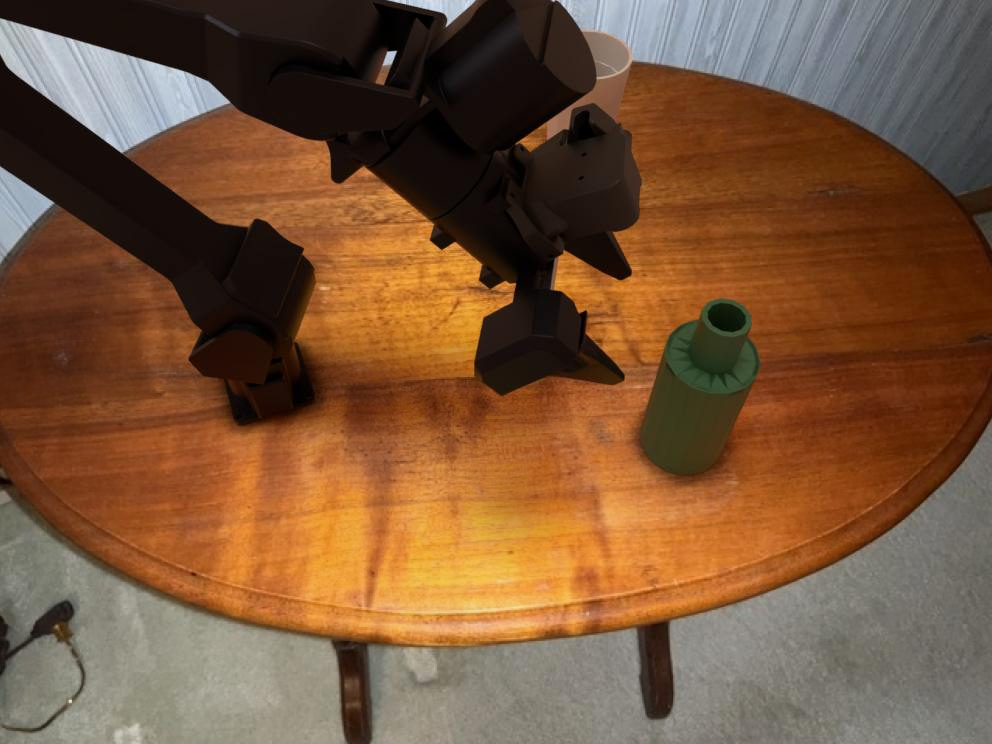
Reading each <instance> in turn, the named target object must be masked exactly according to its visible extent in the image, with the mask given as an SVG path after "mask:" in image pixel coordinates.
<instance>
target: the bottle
mask: <svg viewBox="0 0 992 744" xmlns="http://www.w3.org/2000/svg"><path fill="white" fill-rule="evenodd" d="M752 317H753V316H752V314H751V312H750V311H749V310H748V308H747V307H746V306H745V305H744V304H742V303H739V302H738V301H736V300H734V299H730V298H721V297H720V298H719V297H718V298H716V299H712V300H709V301H707V303H705V305H704V306H703V307H702V308H701V311H700V313H699V316H698V318H697V319H692V320H690V321H687V322H684V323H680V325H679V326H677V327H676V328H675V329H674V330H673V331H671V332H670V333H669V334H668V338H667V340H666V343H665V345H664V347H663V351H662V354H661V358H660V361H659V364H658V368H657V372H656V375H655V377H654V381H653V385H652V389H651V391H650V395H649V397H648V402H647V405H646V408H645V411H644V415H643V418H642V421H641V424H640V431H639V441H640V445H641V448H642V450H643V452H644V454H645V455H646V457H647V458H649V460H650V461H651V462H652V463H653V464H654V465H656V466H657V467H658V468H660V469H661V470H664V471H666V472H667V473H671V474H675V475H679V476H693V475H697V474H701V473H704V472H706V471H707V470H709V469H710V468H712V467H713V466H714V465H715V464H716V462H717V461H718V460H719V458H720V457H721V455H722V453H723V450H724V448H725V446H726V444H727V442H728V439H729V438H730V437H731V436H730V435H731V434H732V431H733V429H734V427H735V424H736V423H737V420H738V419H739V417H740V414H741V412H742V410H743V407H744V405H745V404H746V401H747V400H748V398H749V397H748V396H749V395H750V393H751V391H752V388H753V387H754V384H755V382H756V380H757V378H758V374H759V371H760V367H761V359H760V355H759V350H758V348H757V346H756V345H755V343H754V342H753V341H752V339H750V337H749V333H750V331H751V329H752V327H753V319H752Z"/></svg>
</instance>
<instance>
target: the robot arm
mask: <svg viewBox="0 0 992 744" xmlns="http://www.w3.org/2000/svg"><path fill="white" fill-rule="evenodd" d="M0 20H4V21H7V22H10V23H14V24H18V25H21V26H25V27H28V28H31V29H36V30H39V31H41V32H46V33H49V34H52V35H56V36H59V37H63V38H67V39H70V40H74V41H77V42H80V43H84V44H87V45H91V46H94V47H98V48H101V49H105V50H109V51H111V52H114V53H119V54H121V55H126V56H129V57H133V58H136V59H140V60H142V61H146V62H150V63H153V64H157V65H160V66H163V67H168V68H171V69H174V70H178V71H181V72H185V73H187V74H189V75H192V76H194V77H197V78H199V79H201V80H203V81H206V82H208V83H209V84H210V85H211V86H212V87H214V89H215V90H217V92H219V93H220V94H221V95H222V96H223V98H225V99H226V100H227V101H228V102H229V103H230V104H231V105H232V106H233V107H235V109H237V110H238V111H239V112H240V113H242V114H244V115H247V116H249V117H252V118H253V119H256V120H259V121H261V122H263V123H265V124H268V125H270V126H272V127H275V128H277V129H280V130H282V131H284V132H287V133H289V134H290V135H294V136H296V137H299V138H301V139H305V140H309V141H314V142H315V141H316V142H325V144H326V146H327V148H328V151H329V158H330V162H329V163H330V179H331V181H332V182H333V183H334V184H338V185H340V184H343V183H344V182H346V181H347V180H348V179H349V178H351V177H352V176H353V175H355V173H357V172H358V171H360V170H361V169H362V168H365V169H366V170H367V171H369V172H370V173H372V174H373V175H374V176H375V177H376V178H378V179H379V180H380V181H381V182H382V183H384V184H385V185H386V186H387V187H388V188H389V189H391V190H392V191H393V192H394V193H395V194H397V195H398V196H399V197H400V198H402V199H403V200H404V201H405V203H406V202H407V203H408V204H409V205H410V206H411V207H413V209H415V210H416V211H417V212H418V213H420V214H421V215H422V216H423V217H424V218H426V219H427V220H428V221H429V222H430V223H431V224H433V226H432V229H431V233H430V237H429V242H431V243H432V244H433V245H434V246H436V247H437V248H438V249H439V250H440V251H444V250H445V249H446V248H448V247H450V246H451V245H453V244H457V245H458V246H459V247H460V248H462V249H463V250H464V251H465V252H466V253H468V254H469V255H470V256H471V257H472V258H473V259H475V260H476V261H477V262H478V263H479V264H481V266H480V267H481V268H480V272H479V276H478V281H479V282H480V283H481V284H483V285H484V286H485V287H486V288H487V289H488V290H491V289H494V288H495V287H497V286H499V285H501V284H503V283H504V282H506V283H507V284H509V285H513V284H515V285H514V286H515V287H514V292H513V298H512V302H510V303H508V304H507V305H504V306H503V307H501V308H499V309H497V310H495V311H493V312H492V313H490V314H488V315H485V316H484V317H482V322H481V328H480V331H479V332H480V333H479V337H478V342H477V346H476V351H475V356H474V361H473V377H475V378H476V379H477V380H478V381H480V382H481V383H482V384H483V385H485V386H486V387H488V389H491V390H492V391H494V392H495V393H496V394H497V395H499V396H500V397H503V396H507V395H508V394H510V393H513V392H515V391H517V390H519V389H522V388H524V387H526V386H529V385H531V384H533V383H536V382H538V381H540V380H542V379H544V378H547V377H556V378H563V379H569V380H570V379H571V380H575V381H582V382H589V383H594V384H595V383H596V384H601V385H607V386H615V385H618V384H620V383H623V382H624V381H625V380H626V375H625V373H624V372H623V370H622V369H621V368H620V367H619V366H618V364H617V363H616V362H615V361H614V360H613V359H612V358H611V357H610V356H609V355H608V354H607V353H606V352H605V351H604V350H603V349H602V348H601V347H600V346H599V345H598V344H597V343H596V342H595V341H594V340H593V339H592V338H591V337H590V335H588V334H587V325H588V324H587V323H588V314H589V312H588V310H586V309H585V310H583V311H581V312H579V310H578V309H577V306H576V303H575V301H574V300H573V299H572V298H570V297H569V296H568V295H567V294H566V293H564V292H563V291H562V290H557V289H555V284H556V279H557V278H556V277H557V271H558V265H559V257H561V256H562V255H564V252H567V253H568V254H570V255H572V256H574V257H575V258H576V259H578V260H580V261H581V262H584V263H585V264H587V265H588V266H590V267H592V268H593V269H596V270H597V271H599V272H601V273H603V274H604V275H607V276H609V277H611V278H613V279H614V280H615V279H616V280H618V281H624V280H626V279H628V278H630V277H632V275H633V269H632V267H631V265H630V264H629V261H628V260H627V258H626V255H625V253H624V252H623V249H622V247H621V246H620V243H619V241H618V240H617V238H616V236H615V234H614V233H618V232H622V231H626V230H628V229H630V228H632V227H633V226H634V225H636V223H637V222H638V221H639V218H640V214H641V209H640V197H641V187H642V183H643V180H642V176H641V174H640V171H639V168H638V165H637V163H636V160H635V156H634V155H633V152H632V147H633V146H632V145H633V134H632V132H631V131H630V130H627V129H624V127H623V125H622V123H621V122H618V123H617V121H616V122H615V120H614V119H613V118H612V117H610V116H609V115H608V114H607V113H606V112H605V111H603V110H602V109H601V108H600V107H599V106H597V105H596V104H595V103H590V104H587V105H583V106H580V107H576V108H573V109H572V111H571V117H570V124H569V130H568V129H563V130H562V131H560V132H559V133H557V134H556V135H554V136H553V137H551V138H550V139H548V140H547V139H546V140H545V141H544V142H542V143H541V144H539V145H538V146H536V147H535V148H534V149H532V150H531V151H530V150H529V149H528V148H527V147H526V146H525V145H524V144H522V143H521V142H520V141H522V140H523V139H525V138H526V137H528V136H529V135H530V134H532V133H533V132H535V131H536V130H537V129H539V128H541V127H542V126H543V125H545V124H547V122H548V121H549V120H551V119H552V118H553V117H555V116H556V115H558V114H559V113H561V112H562V111H563V110H565V109H566V108H568V107H569V106H571V105H572V104H574V103H575V102H576V101H578V100H579V99H581V98H582V97H584V96H585V95H586V94H588V93H589V92H591V91H592V90H593V89H594V87H595V85H596V81H597V75H596V66H595V62H594V59H593V55H592V53H591V50H590V48H589V45H588V43H587V41H586V39H585V37H584V35H583V33H582V31H581V30H582V29H581V28H580V27H579V25H578V23H577V22H576V20H575V19H574V18H573V16H572V14H570V12H569V11H568V10H567V9H566V7H565V6H564V5H563V4H562V3H561V2H560V1H559V0H554V1H553V0H474V1H473V2H472V3H471V4H470V5H469V6H468V7H467V8H466V9H465V10H463V12H461V13H460V14H459V15H457V17H455V18H454V19H453V20H452V21H451V22H450V23H449V24H448V17H447V15H446V14H445V13H443V12H441V11H436V10H434V9H433V10H432V9H429V8H424V7H419V6H415V5H410V4H407V3H403V2H398V1H394V0H0ZM389 52H390V53H391V52H395V55H394V57H393V60H392V63H391V65H390V67H389V69H388V73H387V75H386V77H385V81H384V83H383V84H380V83H378V82H377V81H378V78H379V76H380V73H381V71H382V68H383V65H384V63H385V60H386V57H387V55H388V53H389ZM0 168H2V169H3V170H5V171H6V172H8V173H9V174H10V175H12V176H13V177H15V178H17V179H18V180H19V181H21V182H23V183H24V184H26V185H27V186H29V188H31V189H33V190H34V191H36V192H38V193H39V194H40V195H42V196H43V197H45V198H46V199H48V200H50V202H52V203H54V204H55V205H56V206H58V207H60V208H61V209H62V210H64V211H66V212H67V213H68V214H70V215H71V216H73V217H75V218H76V219H77V220H79V221H81V222H82V223H83V224H85V225H87V226H88V227H89V228H91V229H93V230H94V231H96V232H97V233H98V234H100V235H102V236H103V237H105V239H107V240H109V241H110V242H112V243H113V244H115V245H116V246H118V247H119V248H121V249H122V250H124V251H125V252H127V253H129V254H130V256H131V255H132V256H133V257H134V258H135V259H137V260H139V261H140V262H142V263H143V264H145V265H146V266H148V267H149V268H151V269H153V270H154V271H155V272H157V273H158V274H160V275H161V276H162V277H164V278H166V280H168V281H169V282H170V283H171V284H172V286H173V288H174V290H175V292H176V293H177V296H178V298H179V299H180V301H181V304H182V305H183V307H184V309H185V311H186V312H187V315H188V317H189V318H190V321H191V322H192V323H193V325H195V327H197V328H198V329H200V330H201V331H200V332H199V335H198V337H197V339H196V341H195V343H194V346H193V348H192V350H191V352H190V354H189V356H188V359H187V360H188V363H190V364H191V365H192V366H193V368H195V369H196V370H197V371H198V373H200V375H201V376H203V377H205V378H211V379H212V378H213V379H218V380H219V379H220V380H223V382H224V386H225V391H226V394H227V398H228V402H229V405H230V409H231V415H232V417H233V420H234V423H235V424H236V425H238V426H242V425H246V424H250V423H253V422H255V421H259V420H263V419H267V418H271V417H275V416H277V415H281V414H284V413H286V412H290V411H292V410H295V409H298V408H302V407H305V406H308V405H311V404H313V403H315V401H316V398H317V397H316V394H315V391H314V388H313V385H312V382H311V379H310V375H309V373H308V369H307V367H306V364H305V361H304V358H303V354H302V352H301V348H300V346H299V343H298V342H297V341H296V338H297V336H298V333H299V330H300V328H301V325H302V323H303V320H304V317H305V315H306V312H307V309H308V306H309V303H310V301H311V298H312V297H313V293H314V291H315V287H316V285H317V280H316V274H315V271H316V269H315V267H314V265H313V264H312V262H311V261H310V260H309V259H308V258H307V257H306V256H305V255H304V252H305V248H304V247H303V246H301V245H299V244H297V243H294V242H292V241H290V240H289V239H287V238H285V237H284V236H283V235H282V234H281V233H280V232H278V231H277V230H276V229H275V227H274V226H272V224H270V223H269V222H268V221H266V220H264V219H261V218H254V219H253V220H252V221H251V222H250V224H249V225H248V226H246V225H244V226H243V225H238V224H231V223H223V222H217V221H216V220H214V219H212V218H211V217H210V216H208V215H207V214H205V212H203V211H201V210H200V209H198V208H197V207H196V206H194V205H193V204H191V203H190V202H189V201H187V199H185V198H183V197H182V196H181V195H180V194H178V193H177V192H175V191H174V190H173V189H171V188H170V187H169V186H167V184H165V183H163V182H162V181H161V180H159V179H157V178H156V177H155V176H154V175H152V173H150V172H149V171H147V170H146V169H144V168H143V167H142V166H141V165H139V164H137V163H136V162H135V161H133V160H132V159H130V158H129V157H128V156H127V155H125V154H124V153H123V152H121V151H120V150H118V149H117V148H116V147H114V146H113V145H112V144H110V142H108V141H106V140H105V139H104V138H102V137H101V136H99V135H98V134H97V133H96V132H94V131H93V130H91V128H89V127H87V126H86V125H85V124H83V123H82V122H81V121H80V120H78V119H76V118H75V116H73V115H72V114H70V113H69V112H67V111H66V110H65V109H63V108H62V107H61V106H59V104H56V103H55V102H53V101H52V100H51V99H50V98H49V97H47V96H46V95H44V93H42V92H41V91H38V89H37V88H35V87H33V86H32V85H31V84H29V83H28V82H27V81H25V80H24V79H22V78H21V77H20V76H18V75H17V74H16V73H15V72H14V71H13V70H11V68H9V67H8V66H7V64H6V62H5V60H4V58H3V56H2V54H1V53H0ZM308 397H309V398H308Z"/></svg>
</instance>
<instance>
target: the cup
mask: <svg viewBox="0 0 992 744" xmlns="http://www.w3.org/2000/svg"><path fill="white" fill-rule="evenodd" d="M580 30H581V31H582V33H583V35H584V37H585V39H586V41H587V43H588V45H589V48H590V50H591V53H592V55H593V59H594V62H595V66H596V75H597V81H596V85H595V87H594V89H593V90H592V91H591V92H589V93H588V94H586V95H585V96H584V97H582V98H581V99H579V100H578V101H576V102H575V103H574V104H572V105H571V106H569V107H568V108H566V109H565V110H563V111H562V112H561V113H559V114H558V115H556V116H555V117H553V118H552V119H551V120H549V121H548V122H546V141H547V140H548V139H550V138H551V137H553V136H554V135H556V134H557V133H559V132H560V131H562V130H563V129H568V130H569V124H570V117H571V111H572V109H573V108H576V107H580V106H583V105H587V104H590V103H595V104H596V105H597V106H599V107H600V108H601V109H602V110H603V111H605V112H606V113H607V114H608V115H609V116H610V117H612V118H613V119H614V120H615V122H616V123H617V119H618V116H619V112H620V109H621V104H622V101H623V97H624V92H625V90H626V89H625V88H626V86H627V85H626V84H627V81H628V78H629V74H630V70H631V66H632V64H633V60H634V59H633V57H634V56H633V51H632V49H631V48H630V46H629V45H628V43H626V42H625V41H624V40H622V39H621V38H619V37H618V36H616V35H614V34H611V33H608V32H605V31H601V30H596V29H580Z"/></svg>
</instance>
